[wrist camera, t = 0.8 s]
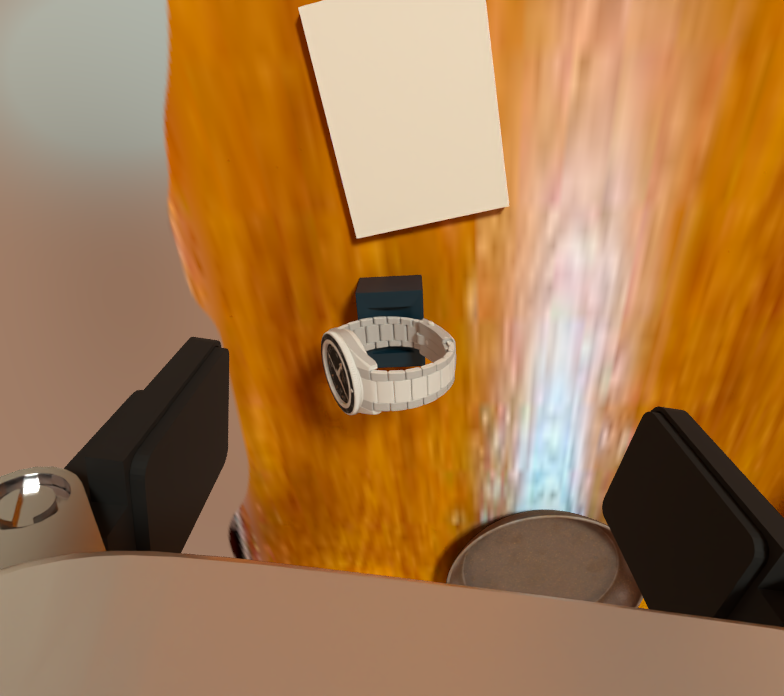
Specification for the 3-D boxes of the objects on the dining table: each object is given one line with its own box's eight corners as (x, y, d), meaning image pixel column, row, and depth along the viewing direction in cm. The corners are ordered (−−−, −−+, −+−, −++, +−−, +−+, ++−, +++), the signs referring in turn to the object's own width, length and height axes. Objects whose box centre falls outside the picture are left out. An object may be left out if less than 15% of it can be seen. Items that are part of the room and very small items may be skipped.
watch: (332, 279, 35) (301, 348, 25) (446, 273, 34) (462, 342, 24) (340, 350, 37) (315, 439, 27) (447, 346, 37) (462, 435, 27)
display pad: (506, 203, 32) (509, 206, 31) (357, 235, 33) (356, 238, 33) (478, -40, 27) (480, -44, 26) (301, 9, 28) (298, 7, 27)
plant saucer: (415, 525, 45) (416, 552, 43) (609, 468, 42) (623, 493, 39) (479, 639, 52) (483, 669, 50) (650, 599, 49) (664, 628, 46)
